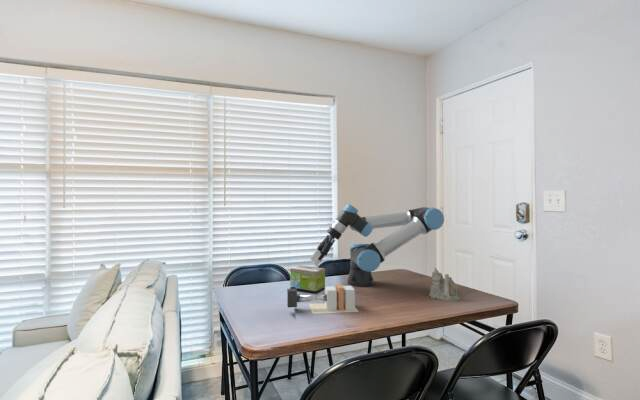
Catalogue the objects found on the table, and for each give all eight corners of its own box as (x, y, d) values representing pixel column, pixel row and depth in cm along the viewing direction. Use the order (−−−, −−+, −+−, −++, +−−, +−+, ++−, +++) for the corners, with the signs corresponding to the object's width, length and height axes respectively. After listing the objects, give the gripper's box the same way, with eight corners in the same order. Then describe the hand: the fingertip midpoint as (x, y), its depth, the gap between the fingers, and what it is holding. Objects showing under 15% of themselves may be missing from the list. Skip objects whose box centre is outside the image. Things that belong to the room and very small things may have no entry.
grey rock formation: (452, 302, 168) (452, 270, 169) (422, 296, 180) (422, 266, 181) (469, 298, 177) (468, 268, 178) (439, 293, 190) (439, 265, 191)
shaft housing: (351, 305, 165) (351, 283, 165) (358, 315, 151) (358, 291, 151) (308, 307, 162) (308, 285, 162) (312, 317, 148) (312, 293, 148)
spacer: (340, 304, 161) (340, 283, 161) (343, 310, 153) (343, 288, 153) (335, 304, 161) (335, 283, 161) (339, 310, 153) (339, 288, 153)
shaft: (327, 303, 158) (327, 287, 158) (329, 305, 154) (329, 289, 154) (287, 304, 156) (287, 288, 156) (287, 307, 152) (287, 291, 152)
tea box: (289, 297, 177) (289, 268, 177) (300, 293, 186) (299, 264, 186) (316, 301, 170) (316, 271, 170) (325, 296, 179) (325, 267, 179)
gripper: (327, 224, 202) (305, 254, 201) (334, 228, 178) (310, 262, 176) (338, 231, 203) (316, 262, 202) (346, 236, 178) (322, 271, 177)
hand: (313, 262), depth 189 cm, fingers open, 13 cm apart
